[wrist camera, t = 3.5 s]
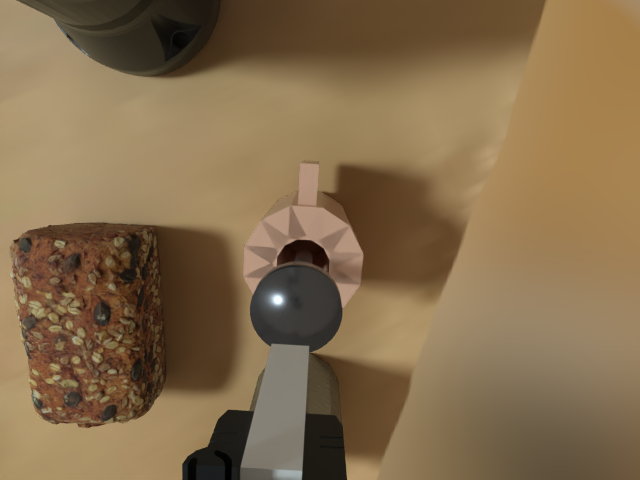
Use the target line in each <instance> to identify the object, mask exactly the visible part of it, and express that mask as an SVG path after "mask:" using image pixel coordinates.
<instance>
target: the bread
mask: <svg viewBox="0 0 640 480" xmlns="http://www.w3.org/2000/svg"><path fill="white" fill-rule="evenodd" d="M10 258H11V261H12V264H13V265H12V272H10V274H11V277H12V278H13V282H14V285H15V287H14V291H15V296H14V300H15V303H16V310H17V318H18V319H19V321H20V327H21V329H22V330H21V334H20V336H21V339H22V341H23V344H24V346H25V349H26V353H27V356H28V362H29V370H30V373H29V375H28V380H29V384H30V387H31V390H32V404H33V405H34V408H35V410H36V414H37V415H39V416H40V417H41V418H42V419H44V420H46V421H48V422H50V423H52V424H59V423H77V424H78V426H79V427H85V428H89V427H92V426H100V425H104V424H106V423H108V424H109V423H115V422H120V423H125V422H128V421H129V420H130V419H137V418H139V417H141V416H143V415H144V414H146V413H147V412H148V411H149V410H150V408H151V407H152V405H153V404H154V401H155V399H156V398H157V397H158V396H159V395H160V393H161V391H162V388H163V385H164V383H165V380H166V364H165V343H164V324H163V309H162V298H161V295H162V290H161V288H160V280H161V276H160V263H159V254H158V246H157V242H156V231H155V229H154V226H146V225H133V224H132V225H125V224H106V223H74V224H65V225H53V226H52V225H49V226H48V227H43V228H39V229H33V230H29V231H27V232H25V233H23V234H22V235H21V236H20V237H19V238H18V239H16V240H13V242H12V244H11V246H10Z"/></svg>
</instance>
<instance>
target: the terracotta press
mask: <svg viewBox="0 0 640 480" xmlns="http://www.w3.org/2000/svg"><path fill="white" fill-rule="evenodd" d="M318 171H319V162H318V161H303V162H301V163H300V176H299V190H298V191H296V192H294V193H292V194H290V195H288V196H286V197H284V198H282V199H280V200H278V201H277V202H276V203H275V204H274V205H273V206H272V208H271V209H270V210H269V211H268V212H267V213H266V215H265V216H264V217H263V218H262V219H261V221H260V223H259V224H258V226H257V227H256V229H255V230H254V232H253V234H252V235H251V237H250V238H249V240H248V241H247V243H246V244H245V245H244V275H243V277H244V279H245V280H246V282H247V284H248V286H249V288H250V290H251V291H252V293H253V294H254V292H255V290H256V287H257V285H258V284H259V282H260V280H261V279H262V278H263V276H264V275H265V274H266V273H267V272H268V271H270V270H271V269H272V268H274V267H276V266H278V265H281V264H283V263H287V262H294V261H295V257H296V254H297V252H298V251H299V250H301V249H308V250H309V251H310V252H311V253H312V255H313V262H312V264H313V265H316V266H318V267H320V268H322V269H323V270H324V271H326V272H327V273H328V274H329V275H330V276H331V277H332V278H333V280H334V281H335V283H336V285H337V287H338V289H339V292H340V296H341V302H342V309H343V308H344V306H345V305H346V304H347V302H348V301H349V300H350V298H351V297H352V295H353V294H354V293H355V291H356V290H357V289H358V287H359V286H360V285H361V274H362V263H363V255H364V254H363V251H362V249H361V247H360V244H359V242H358V239H357V237H356V235H355V232H354V230H353V228H352V225H351V224H350V222H349V220H348V218H347V215H346V213H345V211H344V209H343V207H342V205H341V204H339V203H338V202H336V201H335V200H333V199H332V198H330V197H329V196H327V195H326V194H324V193H323V192H317V186H318Z"/></svg>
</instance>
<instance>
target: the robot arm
mask: <svg viewBox="0 0 640 480" xmlns="http://www.w3.org/2000/svg"><path fill="white" fill-rule="evenodd" d="M17 1H19V2H21V3H23V4H25V5H27V6H29V7H31V8H33V9H35V10H37V11H39V12H42V13H44V14H46V15H48V16H50V17H52V18H54V20H55V22H56V23H57V25H58V26H59V28H60V29H61V30H62V32H63V33H64V34H65V35H66V37H67V38H68V39H69V40H70V41H71V42H72V43H73V44H74V45H75V46H76V47H77V48H78V49H79V50H81V51H82V52H83V53H84V54H86V55H87V56H89V57H90V58H92V59H93V60H95V61H97V62H99V63H100V64H103V65H105V66H107V67H110V68H112V69H115V70H117V71H120V72H123V73H127V74H131V75H137V76H154V75H160V74H164V73H168V72H171V71H173V70H175V69H177V68H179V67H181V66H183V65H185V64H186V63H187V62H189V61H190V60H191V59H192V58H194V57H195V56H196V55H197V54H198V53H199V51H200V50H201V49H202V48H203V46H204V45H205V44H206V42H207V41H208V39H209V37H210V35H211V33H212V31H213V29H214V26H215V23H216V20H217V16H218V11H219V5H220V0H17ZM308 359H309V346H301V345H285V344H271V348H270V352H269V356H268V360H267V364H266V368H265V372H264V376H263V380H262V384H261V388H260V392H259V396H258V400H257V404H256V408H255V411H240V410H228V411H226V412H225V413H224V414H223V415H222V416H221V417H220V418H219V419H218V421H217V424H216V426H215V429H214V433H213V434H212V437H211V439H210V443H209V445H208V447H206V448H203V449H200V450H197V451H195V452H194V453H192V454H191V455H189V456H188V457H187V458H186V460H185V461H184V463H183V464H182V472H183V480H347V475H346V463H345V450H344V440H343V426H342V424H341V423H340V421H339V420H338V418H337V417H336V415H325V414H309V413H306V395H307V377H308Z"/></svg>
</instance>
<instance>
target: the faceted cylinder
mask: <svg viewBox="0 0 640 480" xmlns="http://www.w3.org/2000/svg"><path fill="white" fill-rule="evenodd" d="M265 368H266V367H265ZM264 372H265V369H264V370H263V371H262V373H261V374H260V376H259V377H258V381H257V385H256V388H255V392H254V396H253V400H252V403H251V407H250V411H255V408H256V404H257V400H258V396H259V392H260V388H261V384H262V380H263V376H264ZM306 413H309V414H325V415H336V417H337V418H338V420H339V421H340V423H341V424H342V422H341V409H340V397H339V385H338V380H337V378H336V376H335V375H334V373H333V371H332V369H331V367H330V365H329V364H328V363H326V362H325V361H323V360H322V359H320V358H318V357H317V356H315V355H313V354H312V353H309V359H308V377H307V395H306Z"/></svg>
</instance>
